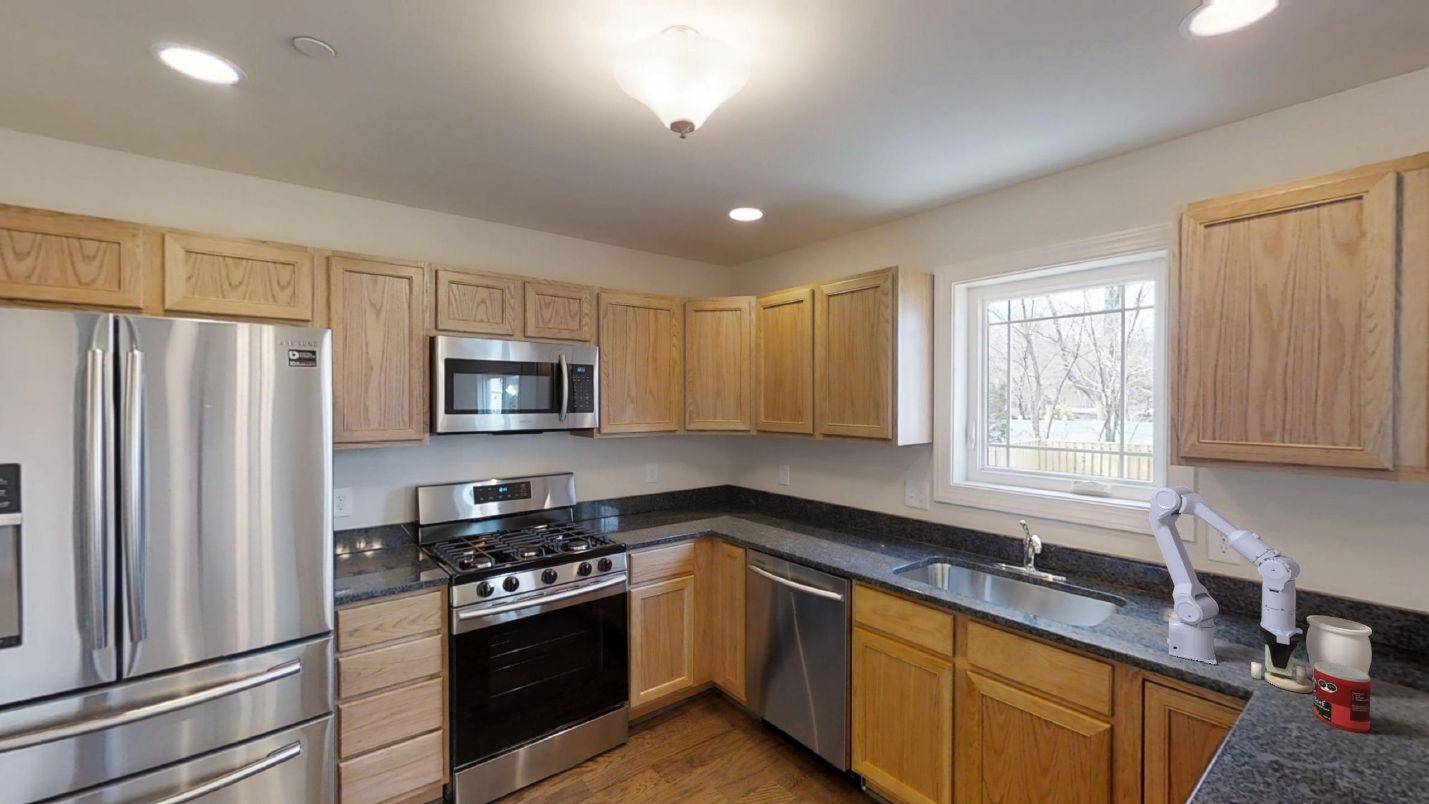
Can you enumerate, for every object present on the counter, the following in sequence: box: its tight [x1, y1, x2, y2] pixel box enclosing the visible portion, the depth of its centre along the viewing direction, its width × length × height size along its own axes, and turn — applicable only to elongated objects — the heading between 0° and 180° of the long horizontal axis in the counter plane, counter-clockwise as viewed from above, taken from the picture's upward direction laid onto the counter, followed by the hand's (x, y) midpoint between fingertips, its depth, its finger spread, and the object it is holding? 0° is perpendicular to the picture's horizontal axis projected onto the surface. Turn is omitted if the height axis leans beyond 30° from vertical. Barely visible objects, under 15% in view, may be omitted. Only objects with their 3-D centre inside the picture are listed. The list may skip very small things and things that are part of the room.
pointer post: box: [1250, 661, 1263, 679], centre depth 139 cm, size 2×2×4 cm
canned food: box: [1312, 662, 1371, 734], centre depth 120 cm, size 8×8×11 cm
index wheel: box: [1264, 664, 1314, 694], centre depth 136 cm, size 8×8×6 cm
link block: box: [1264, 643, 1293, 676], centre depth 137 cm, size 4×4×5 cm
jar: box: [1305, 615, 1373, 682], centre depth 136 cm, size 11×10×15 cm
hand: (1277, 664), depth 137 cm, fingers closed on link block, 4 cm apart
